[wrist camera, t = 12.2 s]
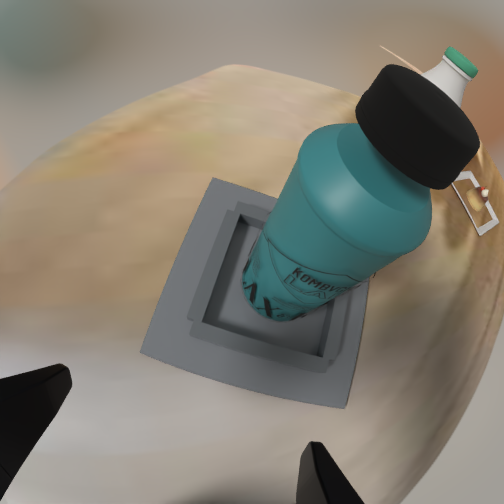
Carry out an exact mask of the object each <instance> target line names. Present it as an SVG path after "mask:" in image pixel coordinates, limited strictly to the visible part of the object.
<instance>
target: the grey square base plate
mask: <svg viewBox="0 0 504 504" xmlns="http://www.w3.org/2000/svg"><path fill="white" fill-rule="evenodd" d="M277 200H278V199H276V198H274V197H271V196H268V195H265V194H262V193H259V192H256V191H253V190H250V189H247V188H244V187H241V186H238V185H235V184H232V183H229V182H226V181H223V180H219V179H216V178H212V180H211V182H210V184H209V186H208V188H207V190H206V193H205V195H204V197H203V199H202V201H201V203H200V205H199V207H198V210H197V212H196V214H195V216H194V218H193V220H192V223H191V225H190V227H189V229H188V232H187V234H186V236H185V238H184V241H183V243H182V245H181V247H180V250H179V252H178V254H177V257H176V259H175V262H174V264H173V266H172V269H171V271H170V274H169V276H168V279H167V281H166V284H165V286H164V289H163V291H162V294H161V296H160V299H159V301H158V304H157V306H156V309H155V312H154V314H153V317H152V320H151V322H150V325H149V328H148V331H147V333H146V336H145V339H144V342H143V345H142V348H141V350H140V353H142V354H144V355H147V356H149V357H151V358H154V359H156V360H159V361H162V362H164V363H167V364H169V365H172V366H175V367H177V368H180V369H183V370H186V371H189V372H191V373H194V374H197V375H200V376H203V377H206V378H209V379H213V380H216V381H219V382H222V383H226V384H229V385H233V386H236V387H240V388H243V389H247V390H251V391H255V392H259V393H263V394H267V395H271V396H275V397H280V398H284V399H289V400H294V401H299V402H304V403H310V404H315V405H321V406H328V407H334V408H341V409H344V408H345V405H346V401H347V397H348V393H349V389H350V385H351V381H352V376H353V372H354V367H355V363H356V358H357V353H358V348H359V343H360V337H361V331H362V325H363V319H364V313H365V306H366V299H367V291H368V283H369V277H368V278H367V279H365V280H364V281H362V282H360V283H359V284H357V285H355V286H356V289H353V287H352V291H351V290H349V289H348V290H349V293H348V290H347V291H345V293H344V296H343V294H342V295H341V294H340V296H338V297H337V296H336V297H337V299H336V298H333V299H331V301H330V300H329V301H330V302H328V303H327V304H325V305H324V306H323V305H322V306H323V307H321V306H319V307H320V308H319V309H318V307H317V308H316V309H317V310H316V309H314V310H311V311H310V312H308V313H306V314H307V316H305V317H303V318H301V317H302V316H304V315H306V314H304V315H302V316H300V317H298V318H297V319H295V320H292V321H290V322H289V321H283V322H280V321H279V322H280V323H278V321H274V320H271V319H268V318H266V317H264V316H262V315H260V314H259V313H257V312H256V311H255V310H254V309H253V308H252V307H251V306H250V304H249V303H248V301H247V299H246V297H245V295H244V292H243V287H242V280H241V283H240V278H242V277H241V276H242V275H241V274H242V272H243V269H244V267H245V265H246V262H247V260H248V258H250V257H248V255H250V254H251V253H252V250H253V248H254V246H255V245H256V243H257V241H258V238H259V236H260V234H261V232H262V230H263V228H264V226H265V223H266V221H267V219H268V217H269V215H270V212H272V210H273V208H274V206H275V204H276V202H277ZM267 214H268V215H267ZM259 230H260V232H259ZM258 235H259V236H258ZM256 236H258V238H257V237H256ZM256 238H257V239H256ZM255 240H256V242H255V244H254V241H255ZM253 244H254V246H253V248H252V245H253ZM251 248H252V250H251ZM250 250H251V253H250ZM249 253H250V254H249ZM246 259H247V260H246ZM241 271H242V272H241ZM366 281H368V282H366ZM361 283H362V284H361ZM359 285H360V286H359ZM357 286H359V287H357ZM241 288H242V289H241ZM354 288H355V287H354ZM242 292H243V293H242ZM345 294H346V295H345ZM243 295H244V296H243ZM341 296H342V297H341ZM244 297H245V298H244ZM245 299H246V300H245ZM246 301H247V302H246ZM248 304H249V305H248ZM311 312H312V313H311ZM309 313H310V314H309ZM258 314H259V315H258ZM261 316H262V317H261ZM263 317H264V318H263ZM265 318H266V319H265ZM267 319H268V320H267ZM270 320H271V321H270ZM273 321H274V322H273ZM288 322H289V323H288Z"/></svg>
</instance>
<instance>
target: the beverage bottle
mask: <svg viewBox="0 0 504 504" xmlns="http://www.w3.org/2000/svg"><path fill="white" fill-rule="evenodd" d="M355 112H356V118H357V121H358V124H356V123H346V124H333V125H327V126H324V127H321V128H318V129H317V130H315V131H313V132H312V133H311V134H310V135H309V136H307V138H306V139H305V140H304V142H303V144H302V146H301V148H300V150H299V153H298V158H297V161H296V163H295V165H294V167H293V169H292V171H291V173H290V175H289V177H288V179H287V181H286V183H285V186H284V188H283V190H282V192H281V194H280V196H279V198H278V200H277V202H276V204H275V206H274V208H273V210H272V212H270V215H269V217H268V219H267V221H266V223H265V226H264V228H263V230H262V232H261V234H260V236H259V235H258V236H259V238H258V236H256V237H257V238H258V241H257V243H256V245H255V246H254V244H255V242H256V240H255V241H254V244H253V245H252V248H253V246H254V248H253V250H252V248H251V250H252V253H251V250H250V253H251V254H250V253H249V254H250V255H248V257H250V258H248V260H247V259H246V260H247V262H246V265H245V267H244V269H243V272H242V271H241V272H242V274H241V275H242V276H241V277H242V278H240V283H241V280H242V287H243V292H244V295H245V297H246V299H247V301H248V303H249V304H250V306H251V307H252V308H253V309H254V310H255V311H256V312H257V313H259V314H260V315H262V316H264V317H266V318H268V319H271V320H274V321H278V323H280V322H283V321H289V322H290V321H292V320H295V319H297V318H298V317H300V316H302V315H304V314H306V313H308V312H310V311H311V310H314V309H316V308H317V307H318V309H319V308H320V307H319V306H321V307H323V306H324V305H325V304H327V303H328V302H330V301H331V299H333V298H336V299H337V297H338V296H340V294H341V295H342V294H343V296H344V293H345V291H347V290H348V289H349V290H351V291H352V287H353V289H356V286H355V285H357V284H359V283H360V282H362V281H364V280H365V279H367V278H368V277H370V276H371V275H372V274H374V273H376V272H377V271H378V270H380V269H382V268H383V267H385V266H386V265H388V264H389V263H391V262H393V261H394V260H396V259H397V258H399V257H400V256H402V255H404V254H407V253H409V252H411V251H413V250H414V249H416V248H417V247H418V246H419V245H421V243H422V242H423V241H424V240H425V238H426V236H427V234H428V232H429V229H430V226H431V220H432V203H431V194H430V188H432V189H437V190H440V189H445V188H447V187H448V186H449V185H450V184H451V183H452V182H454V181H455V180H456V178H458V176H459V175H460V172H461V171H462V170H463V168H464V167H465V166H466V165H467V164H468V163H469V161H470V160H471V159H472V158H473V157H474V156H475V154H476V153H477V151H478V149H479V147H480V141H479V137H478V135H477V132H476V130H475V128H474V127H473V125H472V123H471V122H470V121H469V119H468V118H467V116H466V115H465V114H464V112H463V111H462V110H461V109H460V107H459V106H458V105H457V104H456V103H455V102H454V101H453V100H452V99H451V98H450V97H449V96H448V95H447V94H446V93H445V92H443V91H442V90H441V89H440V88H439V87H437V86H436V85H435V84H433V83H432V82H431V81H429V80H428V79H426V78H425V77H423V76H421V75H420V74H418V73H416V72H414V71H412V70H410V69H408V68H405V67H402V66H398V65H394V64H390V65H387V66H385V68H383V69H382V70H381V72H380V73H379V74H378V76H377V78H376V79H375V80H374V82H373V83H372V85H371V86H370V88H369V89H368V90H367V91H366V92H365V93H364V94H363V95H362V97H361V99H360V101H359V102H358V104H357V106H356V110H355ZM267 215H268V214H267ZM259 232H260V230H259ZM257 238H256V239H257ZM374 276H375V275H374ZM366 282H368V281H366ZM361 284H362V283H361ZM359 286H360V285H359ZM359 286H357V287H359ZM354 287H355V288H354ZM241 289H242V288H241ZM349 290H348V293H349ZM243 292H242V293H243ZM244 295H243V296H244ZM345 295H346V294H345ZM336 296H337V297H336ZM245 297H244V298H245ZM341 297H342V296H341ZM246 299H245V300H246ZM329 300H330V301H329ZM247 301H246V302H247ZM249 304H248V305H249ZM322 305H323V306H322ZM316 310H317V309H316ZM311 313H312V312H311ZM259 314H258V315H259ZM309 314H310V313H309ZM262 316H261V317H262ZM305 316H307V314H306V315H304V316H302V317H301V318H303V317H305ZM264 317H263V318H264ZM266 318H265V319H266ZM268 319H267V320H268ZM271 320H270V321H271ZM274 321H273V322H274ZM279 321H280V322H279ZM289 322H288V323H289Z"/></svg>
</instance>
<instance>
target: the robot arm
mask: <svg viewBox="0 0 504 504" xmlns="http://www.w3.org/2000/svg"><path fill="white" fill-rule="evenodd" d="M71 388H72V379H71V375H70V370H69V368H68V367H66V366H65V365H63V364H55V365H52V366H48V367H44V368H41V369H37V370H33V371H30V372H26V373H22V374H18V375H14V376H10V377H6V378H2V379H0V501H1V499H2V497H3V495H4V494H5V492H6V490H7V489H8V487H9V485H10V484H11V482H12V480H13V479H14V477H15V475H16V474H17V472H18V471H19V469H20V467H21V466H22V464H23V463H24V461H25V460H26V458H27V457H28V455H29V454H30V452H31V451H32V449H33V448H34V446H35V445H36V443H37V442H38V440H39V439H40V437H41V436H42V434H43V433H44V431H45V430H46V429H47V427H48V426H49V424H50V423H51V422H52V420H53V419H54V417H55V416H56V414H57V413H58V411H59V409H60V407H61V405H62V404H63V402H64V400H65V398H66V397H67V395H68V393H69V391H70V390H71ZM296 504H365V503H364V502H363V501H362V499H361V498H360V497H359V495H358V494H357V492H356V491H355V490H354V488H353V487H352V486H351V484H350V483H349V481H348V480H347V478H346V477H345V476H344V474H343V473H342V471H341V470H340V468H339V467H338V466H337V464H336V463H335V461H334V460H333V458H332V457H331V455H330V454H329V452H328V451H327V449H326V448H325V446H324V445H323V444H322V443H321V442H313V441H311V442H309V443H308V445H307V446H306V448H305V450H304V451H303V453H302V455H301V459H300V468H299V476H298V484H297V493H296Z"/></svg>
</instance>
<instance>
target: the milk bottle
mask: <svg viewBox="0 0 504 504" xmlns="http://www.w3.org/2000/svg"><path fill="white" fill-rule="evenodd" d="M442 57H443V60H442V61H441V62H440V63H439V64H438V65H437V66H436V67H434V68H433V69H431V70H429V71H427V72H425V73H423V74H421V76H423V77H425V78H426V79H428V80H429V81H431V82H432V83H433V84H435V85H436V86H437V87H439V88H440V89H441V90H442V91H443V92H445V93H446V94H447V95H448V96H449V97H450V98H451V99H452V100H453V101H454V102H455V103H456V104H457V105H458V106H459V107H461V102H462V97H463V93H464V90H465V87H466V84H467V83H468V82H469V81H472V78H474V77H475V76H476V74H477V72H478V70H477V68H476V67H475V66H474V65H473V64H472V63H471V62H470V61H469V60H468V59H467V58H466V57H464V56H463V55H462V54H461V53H460V52H458V51H457V50H455V49H454V48H452V47H448V48H447V50H446V51H445V54H444V56H442Z"/></svg>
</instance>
